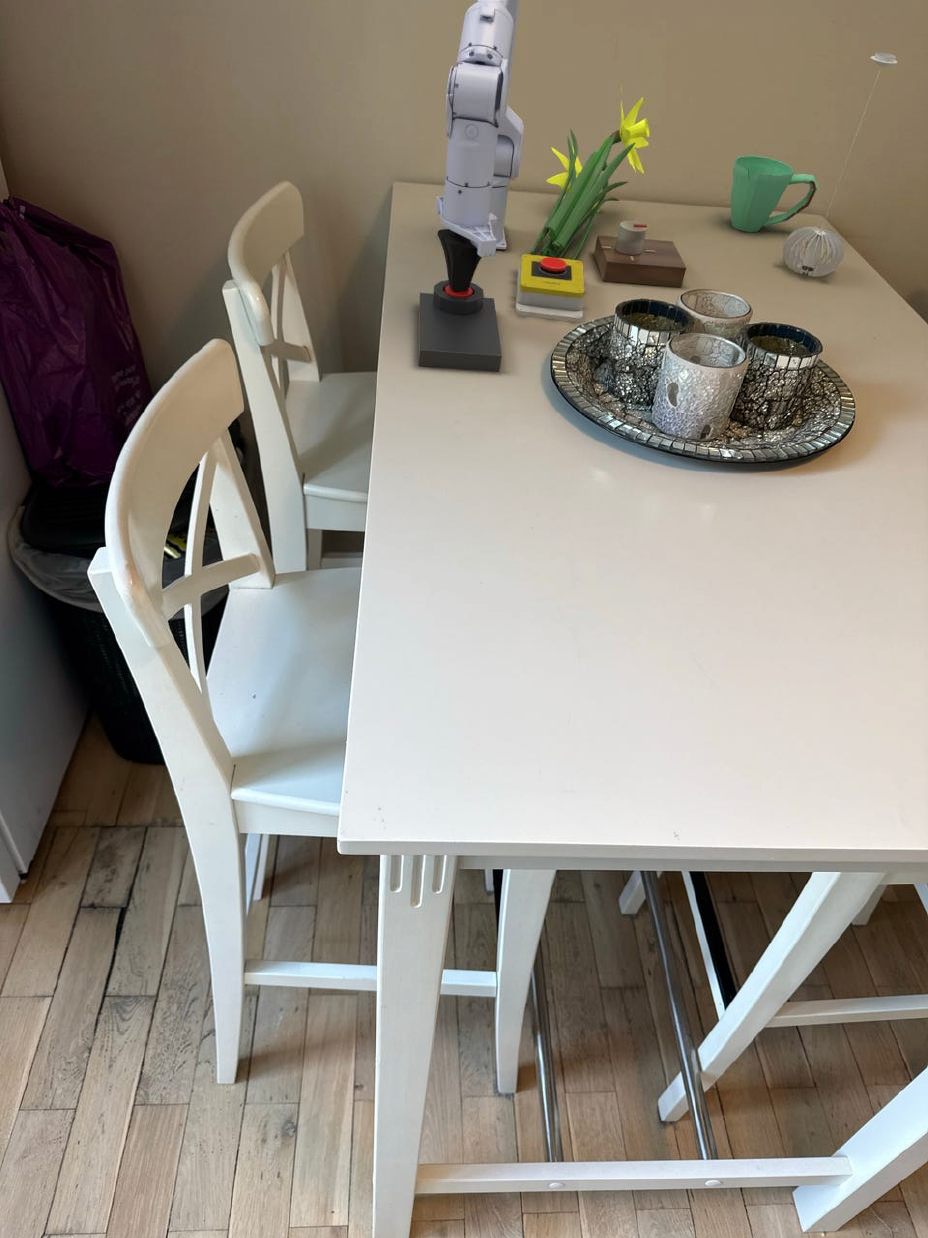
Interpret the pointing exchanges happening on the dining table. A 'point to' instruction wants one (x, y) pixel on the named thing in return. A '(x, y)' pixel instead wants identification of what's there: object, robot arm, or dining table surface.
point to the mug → (763, 192)
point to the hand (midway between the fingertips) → (458, 289)
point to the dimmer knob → (631, 237)
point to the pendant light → (825, 235)
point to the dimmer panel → (640, 263)
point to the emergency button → (550, 288)
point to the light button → (458, 294)
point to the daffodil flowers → (589, 184)
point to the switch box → (458, 330)
